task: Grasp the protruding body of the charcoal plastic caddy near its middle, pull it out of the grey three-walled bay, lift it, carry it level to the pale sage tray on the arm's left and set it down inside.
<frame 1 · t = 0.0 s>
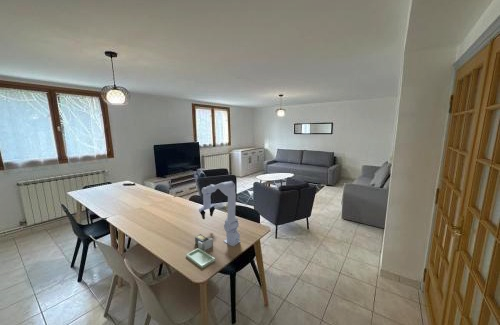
hand: (207, 217, 162), 10 cm above the table, fingers open, 7 cm apart
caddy: (201, 244, 141), on the table
tray: (200, 258, 125), on the table
bay: (205, 247, 138), on the table
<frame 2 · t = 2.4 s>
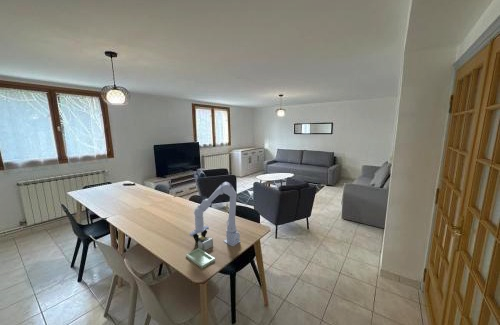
hand: (200, 241, 142), 1 cm above the table, fingers closed on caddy, 5 cm apart
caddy: (201, 244, 141), on the table, touching gripper
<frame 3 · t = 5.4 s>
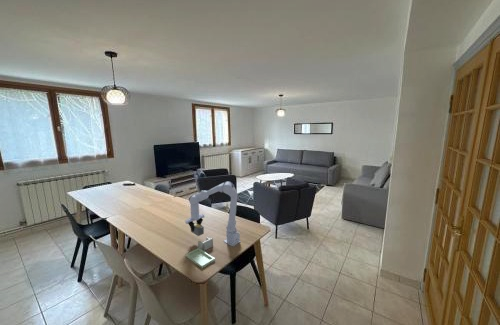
hand: (195, 229, 144), 9 cm above the table, fingers closed on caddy, 5 cm apart
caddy: (197, 232, 143), point 7 cm above the table, touching gripper
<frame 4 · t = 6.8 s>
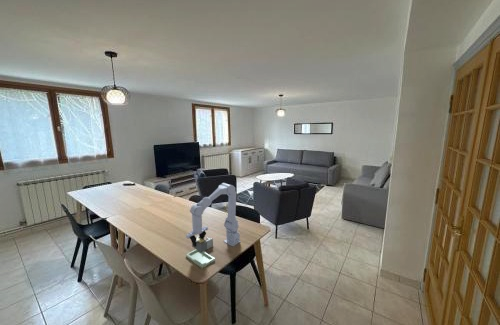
hand: (197, 244, 125), 9 cm above the table, fingers closed on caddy, 5 cm apart
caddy: (199, 248, 125), point 7 cm above the table, touching gripper
when the fingers open (3 cm above the table, at t = 8.3 s): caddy drops 1 cm, resting on tray.
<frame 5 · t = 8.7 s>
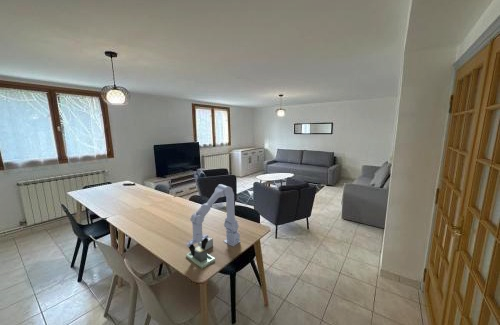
hand: (198, 252, 126), 3 cm above the table, fingers open, 7 cm apart
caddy: (199, 257, 126), resting on tray
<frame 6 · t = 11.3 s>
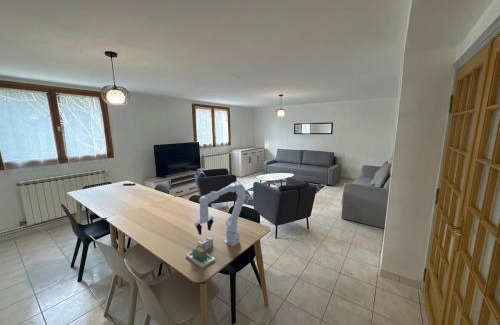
hand: (204, 232, 138), 10 cm above the table, fingers open, 7 cm apart
nothing on the table moved.
at the end: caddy inside the target area on the tray (0.4 cm from its centre), point 0.5 cm above the tray's base; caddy tilted 0°; the gripper is holding nothing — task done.
